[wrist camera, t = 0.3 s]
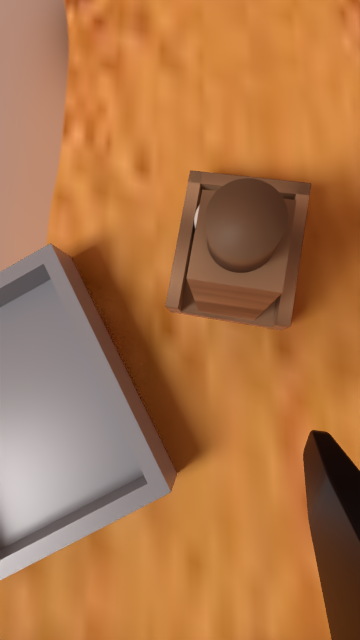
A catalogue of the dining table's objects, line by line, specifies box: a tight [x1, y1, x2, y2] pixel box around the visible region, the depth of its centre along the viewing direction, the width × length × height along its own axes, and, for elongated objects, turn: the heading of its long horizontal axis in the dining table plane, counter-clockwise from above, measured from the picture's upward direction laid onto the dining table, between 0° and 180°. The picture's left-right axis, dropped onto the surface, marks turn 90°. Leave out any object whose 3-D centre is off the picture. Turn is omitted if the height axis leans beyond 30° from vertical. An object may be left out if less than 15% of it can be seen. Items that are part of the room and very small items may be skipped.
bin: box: [0, 243, 177, 580], centre depth 22 cm, size 17×15×3 cm
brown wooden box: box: [165, 171, 311, 330], centre depth 17 cm, size 9×8×12 cm
